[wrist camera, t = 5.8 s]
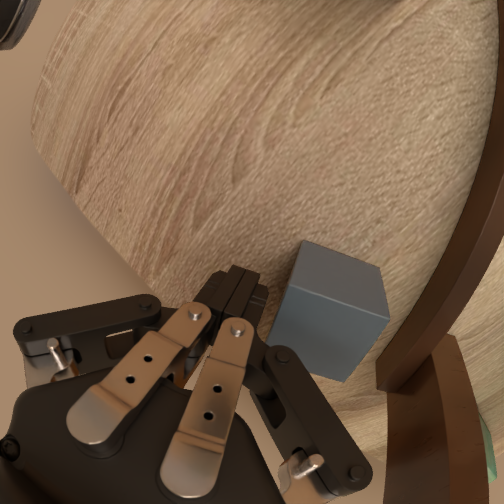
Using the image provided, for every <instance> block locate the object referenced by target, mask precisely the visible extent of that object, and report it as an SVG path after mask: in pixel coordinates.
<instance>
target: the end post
mask: <svg viewBox="0 0 504 504" xmlns="http://www.w3.org/2000/svg"><path fill="white" fill-rule="evenodd" d="M387 415H388V437H387V464H386V478H385V489H384V498H383V504H489V484H488V470H487V460H486V452H485V445H484V439H483V433H482V428H481V423H480V418H479V413H478V409H477V405H476V401H475V397H474V393H473V389H472V386H471V382H470V379H469V376H468V372H467V369H466V366H465V363H464V360H463V357H462V354H461V351H460V349H459V346H458V343H457V340H456V338H455V336H452V335H449V334H446V335H445V336H444V337H443V339H442V340H441V341H440V343H439V344H438V345H437V346H436V348H435V349H434V350H433V351H432V353H431V354H430V355H429V356H428V357H427V359H426V360H425V361H424V362H423V363H422V365H421V366H420V367H419V368H418V369H417V370H416V371H415V373H414V374H413V375H412V376H411V377H410V378H409V379H408V380H407V381H406V382H405V383H404V384H403V386H402V387H401V388H400V389H399V390H398V391H397V392H396V393H390V392H387Z"/></svg>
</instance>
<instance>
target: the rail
mask: <svg viewBox="0 0 504 504" xmlns="http://www.w3.org/2000/svg"><path fill="white" fill-rule="evenodd" d="M498 9H499V29H500V46H499V66H498V78H497V86H496V94H495V101H494V107H493V112H492V118H491V122H490V127H489V132H488V136H487V140H486V144H485V148H484V152H483V155H482V159H481V162H480V165H479V169H478V172H477V175H476V178H475V181H474V184H473V187H472V190H471V192H470V195H469V198H468V201H467V203H466V206H465V208H464V211H463V213H462V216H461V218H460V220H459V223H458V225H457V227H456V230H455V232H454V234H453V236H452V238H451V241H450V243H449V245H448V247H447V249H446V251H445V253H444V255H443V257H442V259H441V261H440V263H439V265H438V267H437V269H436V270H435V272H434V274H433V276H432V278H431V280H430V281H429V283H428V285H427V287H426V288H425V290H424V292H423V293H422V295H421V297H420V299H419V300H418V302H417V303H416V305H415V307H414V308H413V310H412V311H411V313H410V315H409V316H408V318H407V319H406V321H405V322H404V324H403V325H402V327H401V328H400V330H399V331H398V332H397V334H396V335H395V337H394V338H393V340H392V341H391V342H390V344H389V345H388V346H387V348H386V349H385V350H384V352H383V353H382V354H381V356H380V357H379V358H378V360H377V361H376V388H377V390H381V391H385V392H390V393H396V392H397V391H398V390H399V389H400V388H401V387H402V386H403V384H404V383H405V382H406V381H407V380H408V379H409V378H410V377H411V376H412V375H413V374H414V373H415V371H416V370H417V369H418V368H419V367H420V366H421V365H422V363H423V362H424V361H425V360H426V359H427V357H428V356H429V355H430V354H431V353H432V351H433V350H434V349H435V348H436V346H437V345H438V344H439V343H440V341H441V340H442V339H443V337H444V336H445V335H446V333H447V332H448V331H449V329H450V328H451V326H452V325H453V324H454V322H455V321H456V319H457V318H458V316H459V315H460V313H461V312H462V310H463V309H464V307H465V306H466V304H467V303H468V301H469V300H470V298H471V296H472V295H473V293H474V291H475V290H476V288H477V286H478V285H479V283H480V281H481V279H482V278H483V276H484V274H485V272H486V270H487V268H488V267H489V265H490V263H491V261H492V259H493V257H494V255H495V253H496V251H497V249H498V246H499V244H500V242H501V240H502V238H503V236H504V0H498Z"/></svg>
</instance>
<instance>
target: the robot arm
mask: <svg viewBox="0 0 504 504" xmlns="http://www.w3.org/2000/svg"><path fill="white" fill-rule="evenodd" d="M25 1H26V0H0V42H3V41H4V40H5V39H6V38H7V36H8V35H9V33H10V32H11V30H12V28H13V27H14V25H15V23H16V21H17V19H18V17H19V15H20V13H21V11H22V8H23V6H24V3H25ZM259 278H260V274H259V273H257V272H254V271H251V270H248V269H247V270H246V269H245V268H242V267H239V266H236V265H232V266H231V268H230V269H229V271H228V272H227V273H226V272H224V271H221V270H219V271H217V272H215V273H213V274H212V275H211V277H210V278H209V279H208V281H207V282H206V283H205V285H204V286H203V287H202V289H201V290H200V292H199V293H198V294H197V296H196V297H195V298H194V300H193V301H192V302H187V303H185V304H183V305H182V306H181V307H180V308H178V309H174V308H167V307H161V302H160V301H159V299H158V298H157V297H155V296H153V295H150V294H140V295H135V296H131V297H126V298H121V299H116V300H111V301H107V302H102V303H97V304H92V305H87V306H83V307H78V308H72V309H67V310H62V311H57V312H52V313H47V314H42V315H37V316H31V317H26V318H23V319H21V320H19V321H18V322H17V323H16V325H15V326H14V329H13V335H14V337H15V339H16V341H17V343H18V345H19V347H20V350H21V352H22V354H23V357H24V368H25V376H26V384H27V390H25V391H24V392H22V393H21V394H20V396H19V397H18V398H17V400H16V402H15V405H14V409H13V415H12V420H11V423H10V427H9V429H8V432H7V434H6V435H5V437H4V438H3V439H1V440H0V504H326V503H328V502H330V501H332V500H335V499H338V498H341V497H344V496H347V495H349V494H352V493H355V492H357V491H360V490H362V489H364V488H365V487H367V486H368V485H369V484H370V482H371V480H372V476H373V471H372V467H371V465H370V464H369V462H368V461H367V459H366V458H365V456H364V455H363V453H362V452H361V450H360V449H359V447H358V446H357V445H356V443H355V442H354V440H353V439H352V437H351V436H350V434H349V433H348V431H347V430H346V428H345V427H344V425H343V424H342V422H341V421H340V419H339V418H338V416H337V415H336V413H335V412H334V410H333V409H332V407H331V406H330V404H329V403H328V401H327V400H326V398H325V397H324V395H323V394H322V392H321V391H320V389H319V388H318V386H317V385H316V383H315V381H314V380H313V378H312V377H311V375H310V374H309V372H308V371H307V369H306V368H305V366H304V365H303V363H302V361H301V360H300V358H299V357H298V355H297V354H296V353H295V352H294V351H293V350H292V349H291V348H289V347H287V346H283V345H274V346H271V347H270V346H268V345H267V344H265V343H264V342H263V341H262V340H261V339H260V338H259V336H258V334H257V326H258V324H259V321H260V318H261V315H262V313H263V310H264V307H265V304H266V301H267V298H268V295H269V292H268V288H267V286H264V285H261V284H258V282H259ZM130 329H132V331H130V332H126V333H122V334H118V335H114V336H110V337H106V336H108V335H110V334H114V333H118V332H122V331H126V330H130ZM209 345H211V346H213V347H212V350H211V353H210V355H209V357H208V356H207V358H206V360H205V362H204V365H203V368H202V370H201V372H200V375H199V377H198V380H197V382H196V385H195V387H194V389H193V391H192V390H187V389H183V388H184V386H185V384H186V383H187V381H188V380H189V378H190V377H191V375H192V374H193V372H194V371H195V369H196V368H197V366H198V365H199V363H200V362H201V360H202V359H203V357H204V354H205V352H206V350H207V348H208V346H209ZM89 372H90V373H89ZM85 373H86V374H85ZM81 374H82V375H81ZM78 375H79V376H78ZM242 384H243V385H244V386H245V387H247V388H248V389H250V395H251V397H252V399H253V401H254V403H255V405H256V407H257V409H258V411H259V413H260V415H261V417H262V419H263V421H264V423H265V425H266V427H267V429H268V431H269V433H270V435H271V436H272V439H273V440H274V442H275V444H276V446H277V448H278V450H279V451H280V453H281V455H282V457H283V459H284V462H283V463H282V464H281V465H280V467H279V469H278V477H279V480H280V490H279V489H278V487H277V485H276V483H275V481H274V479H273V477H272V475H271V473H270V471H269V469H268V466H267V464H266V462H265V460H264V458H263V456H262V454H261V451H260V449H259V447H258V445H257V443H256V441H255V438H254V436H253V434H252V432H251V429H250V428H249V426H248V425H247V423H246V422H245V421H244V420H243V419H242V418H241V417H240V416H239V415H238V414H237V413H236V412H235V409H236V405H237V401H238V397H239V393H240V390H241V386H242Z"/></svg>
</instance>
